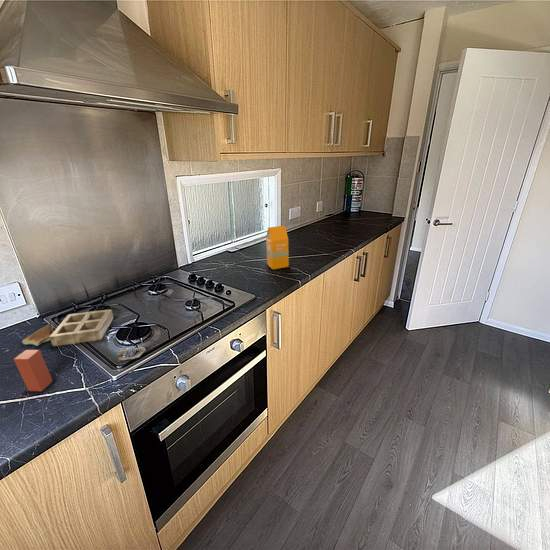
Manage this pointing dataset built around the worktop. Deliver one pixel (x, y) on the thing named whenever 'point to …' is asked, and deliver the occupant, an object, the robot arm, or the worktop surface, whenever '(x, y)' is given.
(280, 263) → the orange juice
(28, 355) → the peg
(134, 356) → the grey flat piece
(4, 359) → the worktop surface
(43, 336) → the shard
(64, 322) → the four-pane grid frame
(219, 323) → the worktop surface
